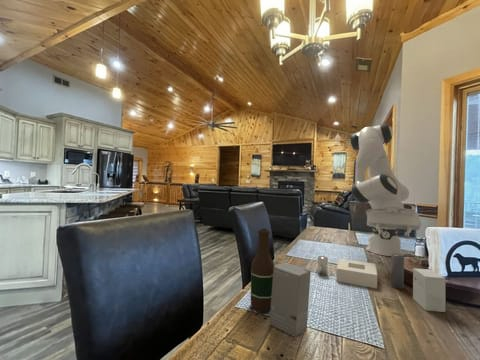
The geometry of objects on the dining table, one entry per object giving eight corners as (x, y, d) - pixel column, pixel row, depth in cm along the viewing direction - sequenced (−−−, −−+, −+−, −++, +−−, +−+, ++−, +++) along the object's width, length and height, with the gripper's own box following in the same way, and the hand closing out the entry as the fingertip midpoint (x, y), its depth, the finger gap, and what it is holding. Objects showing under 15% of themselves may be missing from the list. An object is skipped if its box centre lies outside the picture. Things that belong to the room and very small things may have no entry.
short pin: (318, 271, 108) (318, 255, 108) (327, 273, 106) (328, 256, 106) (316, 274, 104) (317, 257, 104) (326, 276, 102) (327, 259, 102)
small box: (445, 313, 75) (446, 278, 75) (424, 310, 76) (425, 276, 76) (431, 300, 83) (431, 269, 83) (412, 298, 84) (413, 267, 84)
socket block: (339, 269, 110) (339, 258, 110) (374, 275, 104) (374, 263, 104) (336, 281, 97) (336, 268, 97) (377, 288, 91) (377, 274, 91)
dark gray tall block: (390, 283, 96) (391, 252, 96) (402, 285, 94) (403, 254, 94) (391, 287, 92) (392, 255, 92) (404, 289, 91) (405, 257, 91)
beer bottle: (245, 303, 78) (247, 227, 78) (267, 299, 81) (268, 226, 81) (256, 316, 71) (258, 232, 71) (280, 311, 74) (281, 231, 74)
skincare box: (268, 325, 67) (270, 266, 67) (283, 315, 72) (284, 260, 72) (296, 339, 61) (297, 275, 61) (310, 327, 66) (311, 268, 66)
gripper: (366, 204, 116) (366, 228, 107) (419, 206, 107) (424, 233, 98) (365, 212, 120) (365, 236, 111) (416, 215, 111) (421, 242, 102)
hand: (393, 235), depth 104 cm, fingers open, 8 cm apart
